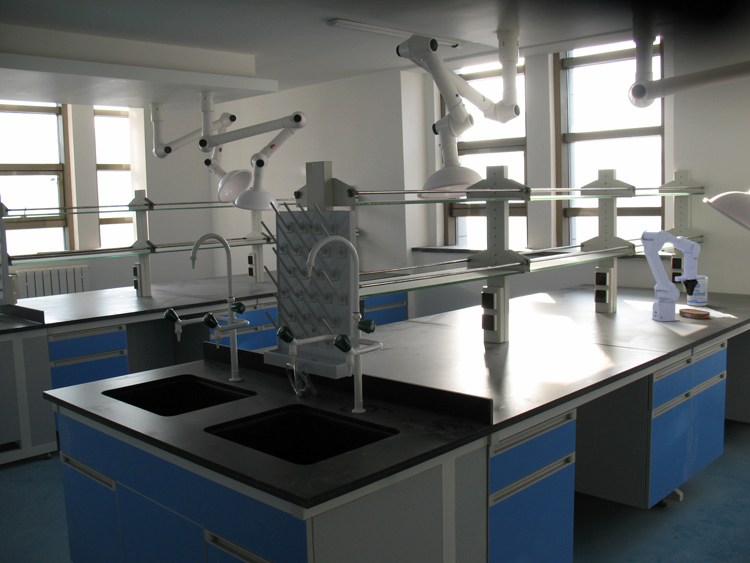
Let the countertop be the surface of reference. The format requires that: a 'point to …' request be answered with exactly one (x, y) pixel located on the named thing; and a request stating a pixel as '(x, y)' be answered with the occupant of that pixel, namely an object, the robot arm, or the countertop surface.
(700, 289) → the supplement tub
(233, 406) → the countertop surface
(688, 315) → the tin
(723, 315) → the mat
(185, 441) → the countertop surface
